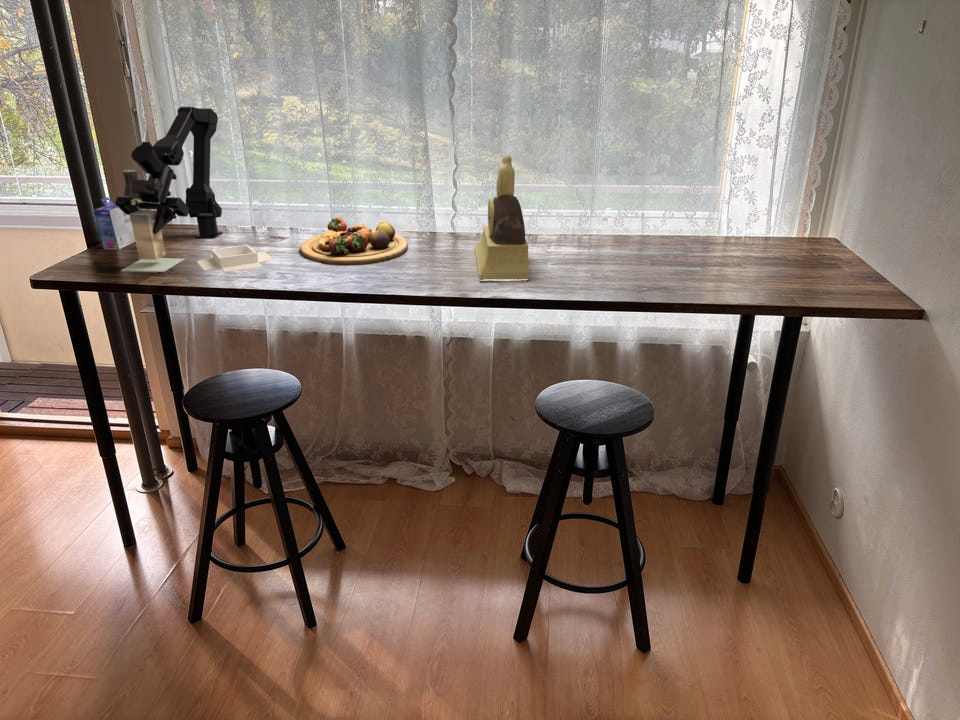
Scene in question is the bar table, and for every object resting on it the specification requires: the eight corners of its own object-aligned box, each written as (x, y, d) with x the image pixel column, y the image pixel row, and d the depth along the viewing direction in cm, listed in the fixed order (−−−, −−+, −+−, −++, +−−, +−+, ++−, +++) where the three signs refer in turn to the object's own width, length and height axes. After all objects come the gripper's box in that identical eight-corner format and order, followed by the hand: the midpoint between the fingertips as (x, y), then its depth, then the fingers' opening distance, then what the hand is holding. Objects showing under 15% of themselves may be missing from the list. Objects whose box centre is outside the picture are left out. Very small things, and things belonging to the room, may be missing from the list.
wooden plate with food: (296, 241, 221) (293, 215, 217) (396, 232, 230) (395, 207, 226) (305, 272, 194) (302, 243, 190) (418, 261, 202) (417, 233, 199)
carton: (193, 258, 203) (191, 248, 202) (259, 248, 212) (258, 239, 211) (207, 275, 188) (206, 264, 187) (278, 264, 197) (277, 254, 196)
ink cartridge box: (120, 241, 220) (110, 194, 214) (137, 241, 219) (127, 194, 213) (101, 249, 211) (90, 201, 205) (119, 250, 210) (108, 201, 204)
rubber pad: (144, 258, 202) (144, 257, 202) (184, 260, 201) (184, 258, 201) (121, 271, 191) (121, 270, 191) (163, 272, 190) (163, 271, 190)
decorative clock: (475, 252, 209) (474, 148, 197) (518, 252, 210) (520, 147, 197) (479, 282, 184) (479, 164, 171) (528, 281, 184) (532, 164, 172)
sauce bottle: (125, 234, 227) (112, 171, 219) (137, 229, 233) (124, 168, 225) (144, 235, 226) (131, 172, 218) (155, 230, 232) (143, 169, 224)
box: (148, 254, 198) (140, 209, 193) (166, 254, 197) (157, 210, 192) (138, 259, 193) (129, 214, 188) (156, 260, 193) (147, 214, 187)
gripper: (110, 166, 190) (95, 216, 185) (176, 167, 188) (162, 218, 183) (133, 189, 200) (119, 237, 195) (195, 191, 198) (182, 239, 193)
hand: (144, 233), depth 191 cm, fingers closed on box, 5 cm apart
